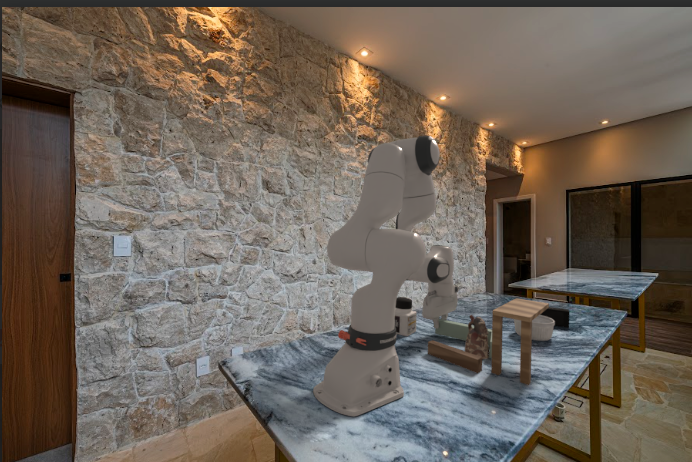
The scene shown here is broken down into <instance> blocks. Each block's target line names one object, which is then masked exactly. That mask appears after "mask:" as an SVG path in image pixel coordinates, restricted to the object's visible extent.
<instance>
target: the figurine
mask: <svg viewBox="0 0 692 462" xmlns="http://www.w3.org/2000/svg"><path fill="white" fill-rule="evenodd" d="M469 319H470V321H469V322H468V324H467V325H468V328H469V332H468V335H467V339H466V341H465V344H464V351H466V352H468V353H471V354H474V355H477V356H480V357H482V360H487V359H490V358H489V351H490V346H488V337H487V335H488V334H489V333H488V332H487V331H488V329H489V328H487V325H486V322H485V320H484V318H482V317H481V316H475V317H474V315H473V314H470V315H469ZM472 326H474V329H473V328H472Z"/></svg>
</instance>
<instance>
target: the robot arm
mask: <svg viewBox="0 0 692 462" xmlns="http://www.w3.org/2000/svg"><path fill="white" fill-rule="evenodd" d="M440 155H441V154H440V148H439V144H438V142H437V140H436V139H435V138H434V137H433V136H431V135H420V136H417V137H411V138H404V139H397V140H393V141H390V142H384V143H380V144H378V145H377V146H375V147H374V148H372V149H371V150H370V153H369V154H368V157H367V166H366V169H365V173H364V178H363V184H362V190H361V195H360V198H359V202H358V204H357V206H356V209H355V211H354V213H353V214H352V216H351V217H350V218H349V219H348V221H347V222H346V223H344V225H343V226H342V227H340V228H339V229H337V230H336V231H334V232H333V233H332V235H330V237H329V239H328V241H327V245H326V253H327V257H328V258H329V261H330V263H331V264H332V265H334V266H335V267H338V268H342V269H345V270H347V271H348V270H349V271H360V272H370V273H372V276H371V277H372V279H371V280H370V283H369V284H368V283H367V284H366V285H363V286H362V287H359V288H358V289H357V290H355V292H354V293H353V295H352V296H351V299H350V301H351V305H350V307H351V308H350V309H351V310H350V324H349V327H348V329H347V331H345V330H343V329H341V330H339V331H338V333H337V334H338V335H337V337H338V338H339V339H340V340H344V341H345V343H344V344H343V345H342V347H341V348H340V349H339V350H338V351H337V353H335V355H334V356H333V357H332V358H331V360H330V361H329V362H328V363H327V364H326V366H325V369H324V374H323V380H322V381H321V382H319V383H318V384H316V385H315V386H314V387H313V391H312V392H313V396H314V398H315V399H317V401H318V402H319V403H321V404H323V406H325V407H327V408H328V409H330V410H332V411H334V412H336V413H339V414H341V415H345V416H348V417H358V416H360V415H363V414H365V413H368V412H370V411H372V410H374V409H376V408H379V407H381V406H384V405H386V404H389V403H391V402H394V401H396V400H398V399H400V398H403V397H404V395H405V392H404V391H405V390H404V388H403V387H402V386H401V375H400V374H401V372H400V360H399V356H398V353H397V350H396V346H395V345H396V344H397V335H398V334H397V333H396V327H395V326H394V325H395V307H396V299H397V298H398V295H399V292H400V289H401V288H402V286H403V284H404V283H405V282H406V281H410V282H411V281H413V282H419V283H425V284H427V285H428V286H427V287H428V289H427V291H428V292H427V293H426V296H425V297H424V299H423V302H422V312H421V314H422V318H423V319H426V320H431V321H432V323H433V328H434V329H435V328H436V329H438V328H440V323H439V320H438V319H443V320H448V317H449V314H450V313H452V312H454V311H456V309H457V307H458V293H459V290H460V289H459V286H458V285H455V284H454V276H453V274H454V271H455V270H454V269H455V268H454V267H455V263H454V261H455V260H454V259H455V258H454V252H453V249H452V247H450V246H448V245H442V244H434V245H431V246H430V250H429V252H428V253H427V248H426V245H425V242H424V240H423V239H422V237H421V236H420V235H419V233H417V232H413V231H412V229H413V228H414V227H415V226H416V225H418V224H420V223H422V222H425V221H426V220H428V219H429V218H430V217H431V216H432V215H433V214H434V213H435V211H436V207H437V199H436V189H435V185H434V179H433V176H432V172H433V171H435V170H436V168H437V167H438V165H439V163H440ZM395 217H396V218H395ZM393 218H395V228H381V227H382V225H383V224H385V223H386V222H388V221H390V220H391V219H393ZM383 226H384V225H383Z"/></svg>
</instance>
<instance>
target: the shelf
mask: <svg viewBox="0 0 692 462" xmlns="http://www.w3.org/2000/svg"><path fill="white" fill-rule="evenodd" d="M549 305H550V304H549V303H548V302H543V301H536V300H529V299H523V298H517V297H516V298H514V299H511V300H510V301H508V302H506V303H504V304H503V305H501V306H499V307H496V308H495V309H493V310H492V315H491V316H492V317H491V318H492V320H491V322H492V325H491V328H492V358H491V369H490V371H491V372H490V373H491V374H494V375H496V376H500V375H502V371H503V370H502V369H503V326H504V325H503V323H504V319H503V318H507V319H512V320H514V319H516V320H521V336H520V353H519V354H520V357H519V358H520V361H519V363H520V365H519V368H520V369H519V383H521V384H524V385H527V386H530V384H531V383H532V349H533V348H532V345H533V344H532V343H533V342H532V320H534V319H535V318H536V317H537V316H539V315H540V314H541V313H542V312H544V311H545V310H546V309H547V308H549V307H550V306H549Z"/></svg>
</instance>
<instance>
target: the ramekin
mask: <svg viewBox="0 0 692 462" xmlns="http://www.w3.org/2000/svg"><path fill="white" fill-rule="evenodd" d="M513 323H514V331H515V333H517V335H518V336H519V337H521V320H516V319H513ZM554 325H555V321H554V320H553V319H551V318H549V317H546V316H542V315H539V316H537V317H536V318H535V319H534V320H532V340H533V341H538V342H546V341H550V340H551V339H552V338H553V334H554V333H553V332H554V327H555V326H554Z"/></svg>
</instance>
